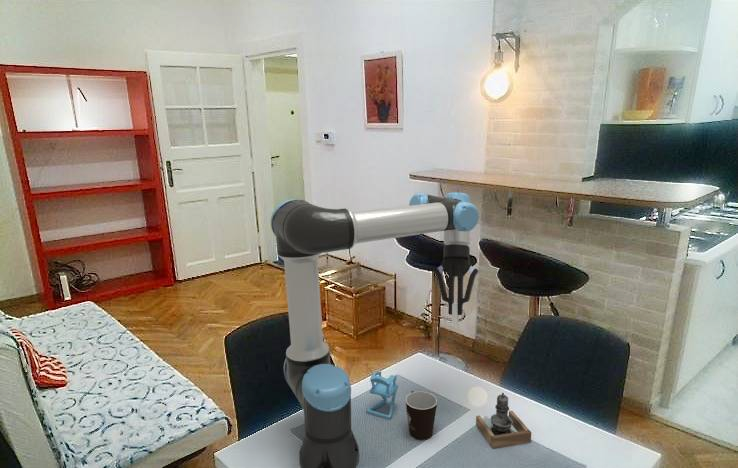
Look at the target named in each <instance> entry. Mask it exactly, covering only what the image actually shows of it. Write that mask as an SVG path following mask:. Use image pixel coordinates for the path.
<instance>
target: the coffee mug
mask: <svg viewBox="0 0 738 468" xmlns="http://www.w3.org/2000/svg"><path fill="white" fill-rule="evenodd" d="M404 400H405V408H406V415H407V424H408V432H409V435H410V437H411V438H413V439H414V440H417V441H427V440H429V439H431V438H432V436H433V433H434V425H435V420H436V413H437V407H438V405H437V404H438V399H437V397H436V396H435V395H434V394H432V393H431V392H428V391H421V390H418V391H412V390H411V392H409V393H408V394H407V395H406V396H405V399H404Z"/></svg>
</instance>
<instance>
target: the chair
mask: <svg viewBox="0 0 738 468" xmlns="http://www.w3.org/2000/svg"><path fill="white" fill-rule="evenodd" d="M397 377H398V374H394V375H393V374H392V375H389V377H387V378H386V377H383V376H382V370H378V371H374V372H373V373H372V374H371V376H370V378H369V379H370V383H371V388H370V389H369V394H372V395H376V396H381V398H382V400H380V401H379V402H377V403H375V404H374V405H372V406H370V407H369V408H367V409H366V413H367V414H369V415H372V416H376V417H378V418H382V419H385V420H389V421H390V420H392V416H393V411H394V406H395V403H396V402H395V401H396V396H397V392H398V389H399V384H396V382H397ZM390 398H391V400H390V405H389V412H388V414H384V413H382V412H381V413H380V412H378V411H375V410H376V409H378V408H380V407H382V406H384V405H385V404H386V403H388V399H390Z"/></svg>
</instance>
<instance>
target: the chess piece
mask: <svg viewBox="0 0 738 468" xmlns="http://www.w3.org/2000/svg"><path fill="white" fill-rule="evenodd" d="M496 397H497V398H496V404H495V411H496V412H495V414H492V415H491V416H490V423H491V425H492V426H491V428H490V430H491V431H492V433H493V434H494V435H502V434H508V433H512V432H511V430H510V429H511V427H512V426H513V425H512V424H513V421H512V419H511V418H510V417H509V411H510V407H509V397H508V396H507V395H506V394H505V393H504V392H501V394H499V395H498V396H496Z"/></svg>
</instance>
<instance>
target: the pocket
mask: <svg viewBox="0 0 738 468" xmlns="http://www.w3.org/2000/svg"><path fill="white" fill-rule="evenodd" d="M508 416H509V417H510V418H511V419H512V421H513V424H512V425H511V426H513V428H514V429H515V430H516V432H511V433H508V434H502V435H494V434H493V433H492V431H491V428H490V427H489V426H488V425H487V423H486V422H485V420H484V419H483V418H482V417H481V415H475V426H476V428H477V430H478V431H479V432H480V433H481V434H482V436H483V437H484V439H485V440H486V442H487V444H488V445H489V446H490V447H491V448H492V449H493V450H494V449H498V448H499V449H500V448H505V447H512V446H518V445H524V444H529V443H531V442H532V432H531V430H530V429H529V428H528V426H526V424H525V423H524V421H522V420H521V419H520V417H518V415H517V414H516V413H515V412H514V410H509V411H508Z"/></svg>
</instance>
